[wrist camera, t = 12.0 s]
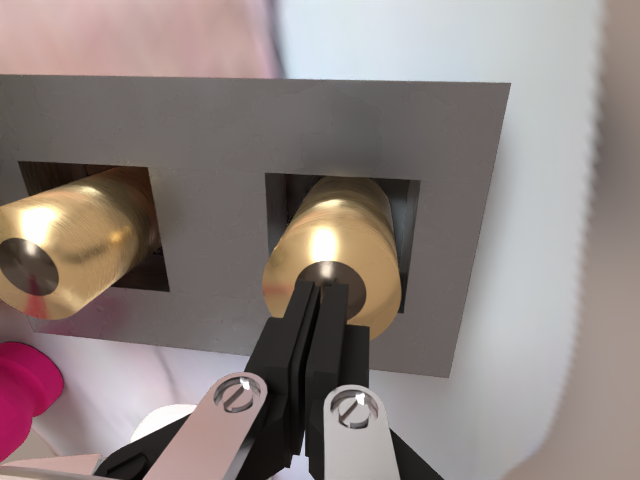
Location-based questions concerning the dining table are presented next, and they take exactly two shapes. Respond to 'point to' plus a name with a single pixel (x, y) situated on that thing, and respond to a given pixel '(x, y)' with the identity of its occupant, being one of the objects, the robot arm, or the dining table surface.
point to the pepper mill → (24, 392)
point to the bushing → (340, 251)
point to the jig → (229, 200)
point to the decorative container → (161, 418)
